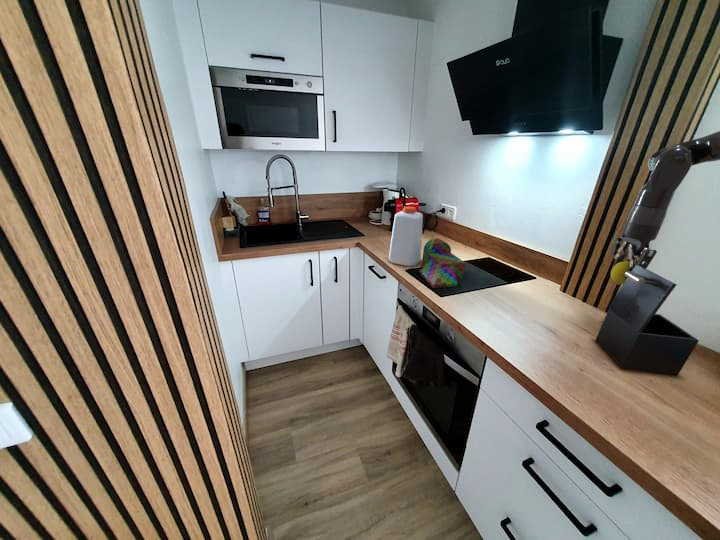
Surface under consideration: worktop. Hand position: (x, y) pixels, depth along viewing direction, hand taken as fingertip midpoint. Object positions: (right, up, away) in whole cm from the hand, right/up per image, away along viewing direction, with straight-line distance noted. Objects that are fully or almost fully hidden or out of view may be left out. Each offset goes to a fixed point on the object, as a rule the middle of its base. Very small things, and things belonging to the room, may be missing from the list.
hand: (622, 274), depth 89 cm
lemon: (0, -3, +2) cm, 4 cm away
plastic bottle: (-59, +6, +61) cm, 85 cm away
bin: (-2, -24, -6) cm, 25 cm away
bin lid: (-7, -6, -13) cm, 16 cm away
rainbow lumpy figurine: (-45, -1, +45) cm, 64 cm away
